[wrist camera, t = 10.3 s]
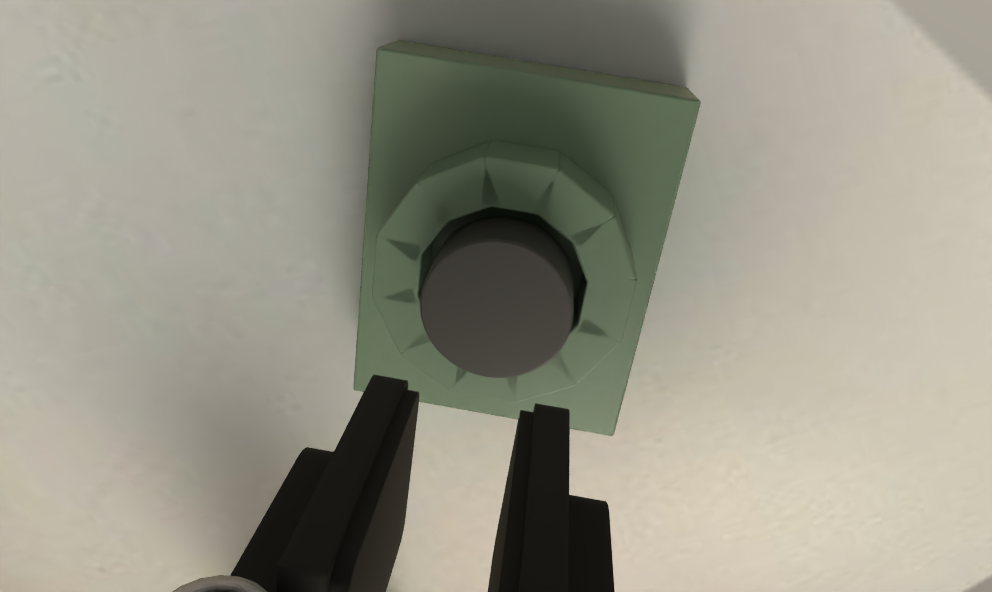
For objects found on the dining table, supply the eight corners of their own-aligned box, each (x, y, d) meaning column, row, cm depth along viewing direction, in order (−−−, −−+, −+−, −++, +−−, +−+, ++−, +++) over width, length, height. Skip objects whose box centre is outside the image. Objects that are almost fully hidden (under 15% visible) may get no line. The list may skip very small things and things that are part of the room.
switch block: (396, 39, 19) (355, 54, 16) (688, 87, 19) (715, 113, 15) (371, 355, 24) (334, 425, 20) (609, 397, 23) (616, 476, 20)
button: (440, 203, 17) (427, 227, 16) (586, 228, 17) (587, 254, 16) (425, 332, 19) (411, 365, 17) (559, 355, 19) (558, 391, 17)
